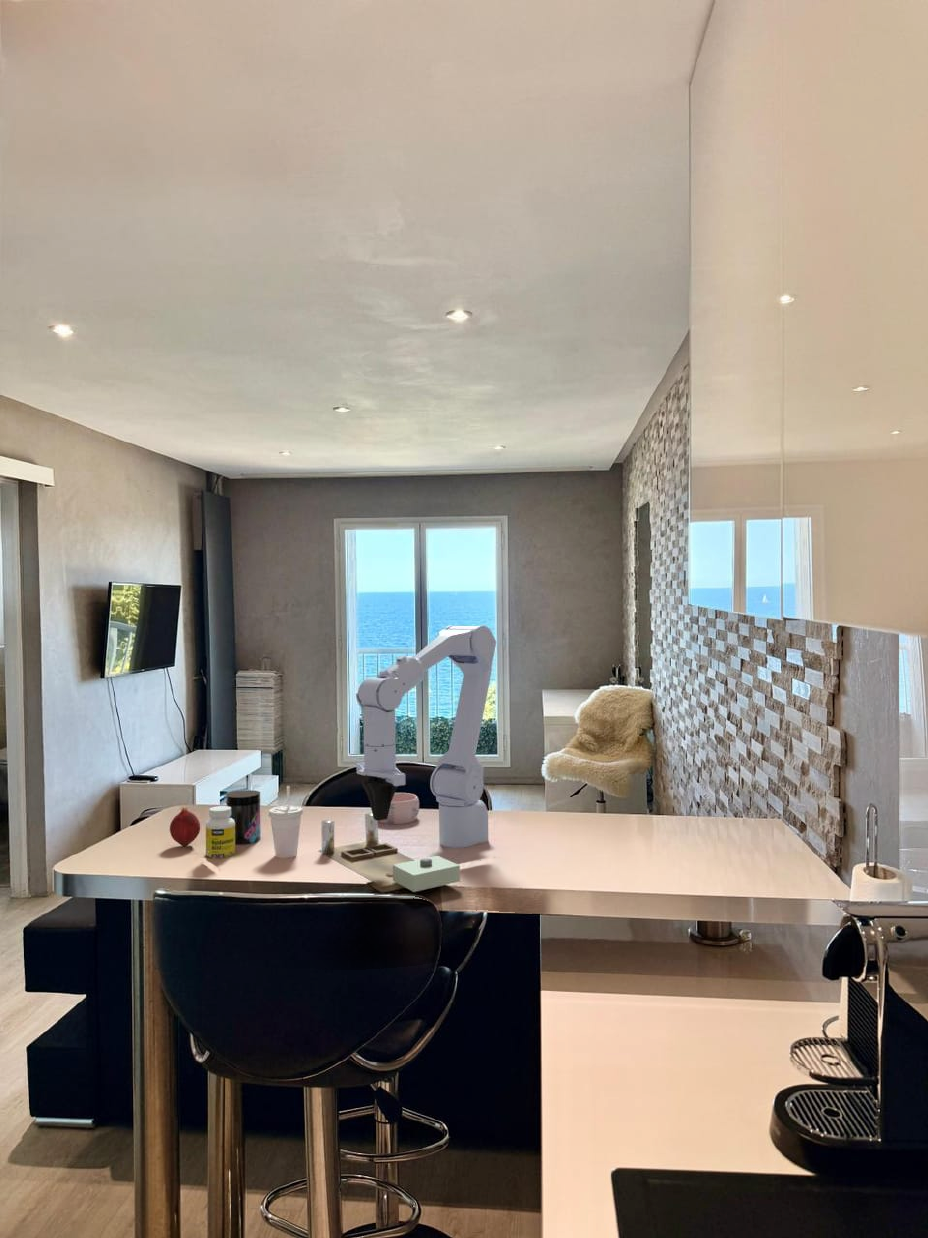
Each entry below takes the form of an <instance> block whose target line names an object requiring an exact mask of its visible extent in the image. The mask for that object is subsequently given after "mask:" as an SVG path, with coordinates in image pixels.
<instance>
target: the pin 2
mask: <svg viewBox="0 0 928 1238" xmlns="http://www.w3.org/2000/svg"><path fill="white" fill-rule="evenodd" d="M364 821H365V823H364V825H365V827H364V828H365V842H366V845H367V846H373V845H378V844H379V843H380V842H379V826H378V822H379V821H377V820H374V817H373V814H372V812H366V813H365V814H364Z"/></svg>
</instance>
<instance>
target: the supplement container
mask: <svg viewBox="0 0 928 1238" xmlns="http://www.w3.org/2000/svg"><path fill="white" fill-rule="evenodd" d="M225 803H226V804H225V806H228V807H231V816H230V818H232V819H233V820H234V821H235V846H236V845H237V846H240V845H241V846H242V845H243V846H245V845H251V844H255V843H258V842H259V841H261V840H262V837H261V836H262V835H261V833H262V832H261V830H262V829H261V792H260V791H259V790H254V789H253V790H251V789H245V790H244V789H243V790H235V791H230V792H227V793H226V794H225Z"/></svg>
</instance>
